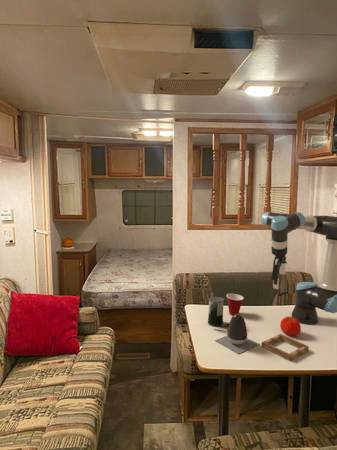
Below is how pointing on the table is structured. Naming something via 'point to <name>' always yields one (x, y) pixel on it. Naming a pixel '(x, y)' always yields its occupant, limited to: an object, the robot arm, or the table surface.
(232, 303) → the plastic cup
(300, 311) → the robot arm
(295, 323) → the tomato
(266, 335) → the table surface
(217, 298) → the milk frother
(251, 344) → the rubber mat
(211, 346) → the table surface
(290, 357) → the walnut collar
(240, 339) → the pump dispenser
